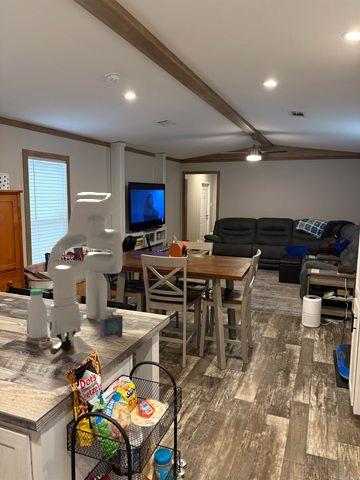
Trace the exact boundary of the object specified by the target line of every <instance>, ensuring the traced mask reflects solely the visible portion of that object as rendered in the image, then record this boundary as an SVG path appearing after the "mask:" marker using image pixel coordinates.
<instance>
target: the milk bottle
mask: <svg viewBox="0 0 360 480" xmlns="http://www.w3.org/2000/svg"><path fill="white" fill-rule="evenodd" d="M29 293H30V295H29V296H30V299H29V302H28V305H27V308H26V336H27V338H29V339H39V338H41V339H42V338H44V337H46V336H47V335H48V331H49V330H48V329H49V326H48V309H47V308H48V307H47V305H46V303H45V301H44V299H43V289H42V288H33V289H31V290H30V291H29Z"/></svg>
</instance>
